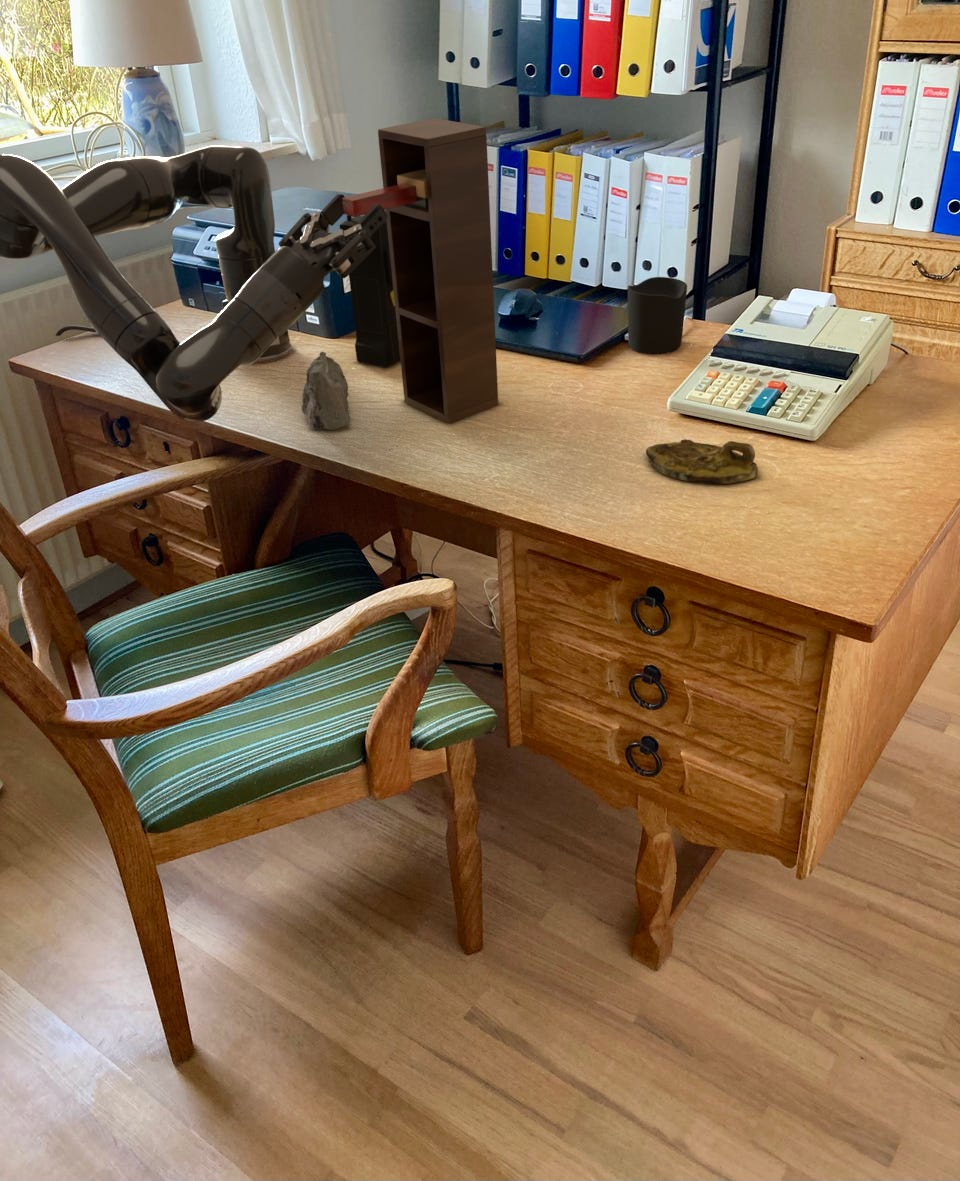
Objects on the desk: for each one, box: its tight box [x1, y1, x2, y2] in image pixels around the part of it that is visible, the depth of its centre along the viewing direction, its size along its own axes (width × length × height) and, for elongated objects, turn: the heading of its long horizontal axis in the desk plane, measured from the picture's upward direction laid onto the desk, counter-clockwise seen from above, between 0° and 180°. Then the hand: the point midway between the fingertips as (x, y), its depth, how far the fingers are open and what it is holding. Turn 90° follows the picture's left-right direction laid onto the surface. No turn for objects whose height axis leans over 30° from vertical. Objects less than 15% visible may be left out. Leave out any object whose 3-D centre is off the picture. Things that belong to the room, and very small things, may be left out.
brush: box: [342, 169, 429, 218], centre depth 135 cm, size 6×18×4 cm, turn 130°
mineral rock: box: [301, 351, 351, 431], centre depth 152 cm, size 13×11×10 cm
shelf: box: [377, 117, 499, 425], centre depth 144 cm, size 11×10×39 cm
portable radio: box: [339, 215, 401, 368], centre depth 164 cm, size 8×6×25 cm
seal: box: [645, 438, 758, 485], centre depth 133 cm, size 9×5×15 cm
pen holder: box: [627, 276, 688, 355], centre depth 167 cm, size 9×9×10 cm
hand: (363, 204), depth 132 cm, fingers open, 8 cm apart
